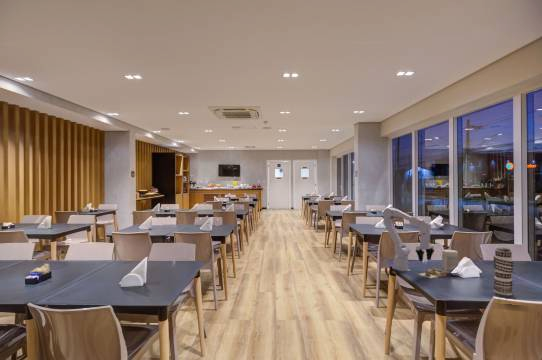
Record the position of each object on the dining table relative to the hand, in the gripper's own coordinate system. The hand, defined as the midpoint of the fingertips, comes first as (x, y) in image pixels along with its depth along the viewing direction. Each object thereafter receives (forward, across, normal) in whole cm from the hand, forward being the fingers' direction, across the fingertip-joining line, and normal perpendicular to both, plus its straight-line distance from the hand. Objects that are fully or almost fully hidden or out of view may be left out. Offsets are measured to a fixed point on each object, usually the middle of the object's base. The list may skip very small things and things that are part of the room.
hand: (424, 260), depth 218 cm
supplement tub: (+10, +21, -3) cm, 23 cm away
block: (+9, +6, -4) cm, 12 cm away
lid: (+10, -2, -4) cm, 11 cm away
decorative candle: (+10, +10, -43) cm, 45 cm away
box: (+9, +6, -4) cm, 12 cm away
